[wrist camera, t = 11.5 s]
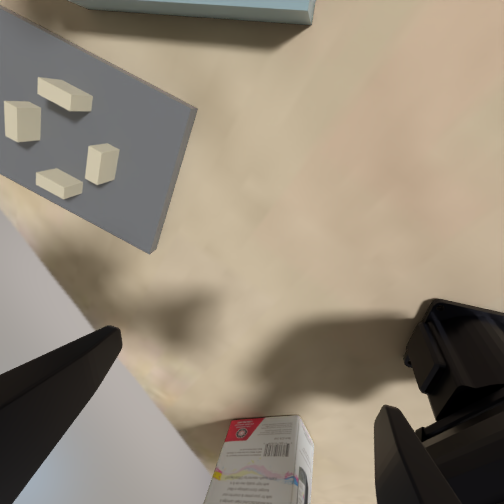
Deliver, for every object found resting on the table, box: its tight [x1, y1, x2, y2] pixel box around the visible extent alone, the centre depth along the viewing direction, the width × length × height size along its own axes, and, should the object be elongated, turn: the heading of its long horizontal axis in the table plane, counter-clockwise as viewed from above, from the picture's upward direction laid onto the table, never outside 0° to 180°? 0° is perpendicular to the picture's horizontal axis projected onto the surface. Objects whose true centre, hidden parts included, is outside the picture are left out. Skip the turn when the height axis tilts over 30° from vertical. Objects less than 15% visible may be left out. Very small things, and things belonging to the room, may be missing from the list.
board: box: [0, 5, 198, 254], centre depth 20 cm, size 16×12×3 cm
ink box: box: [203, 415, 314, 504], centre depth 26 cm, size 9×5×12 cm, turn 114°
